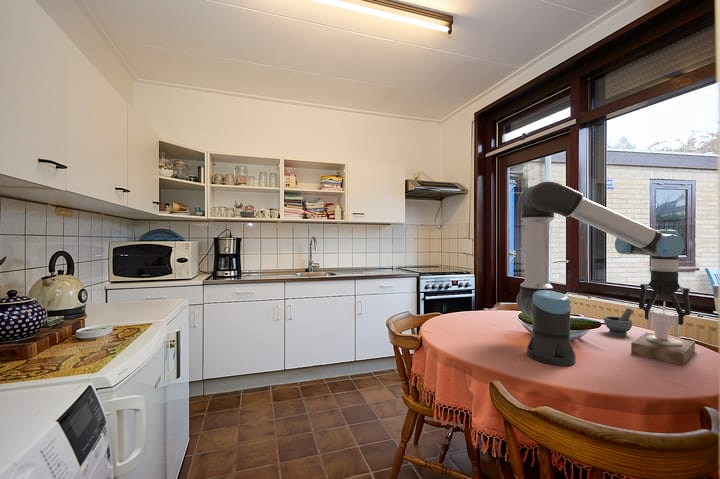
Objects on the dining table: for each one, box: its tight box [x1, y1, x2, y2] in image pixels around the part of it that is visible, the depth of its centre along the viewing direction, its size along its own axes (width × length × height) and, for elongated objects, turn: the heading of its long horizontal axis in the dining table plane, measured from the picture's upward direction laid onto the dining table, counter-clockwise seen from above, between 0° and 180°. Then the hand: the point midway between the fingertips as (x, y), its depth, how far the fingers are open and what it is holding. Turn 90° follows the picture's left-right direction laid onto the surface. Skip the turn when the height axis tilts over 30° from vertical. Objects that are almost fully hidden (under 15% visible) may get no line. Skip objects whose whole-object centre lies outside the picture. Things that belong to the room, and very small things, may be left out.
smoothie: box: [652, 300, 677, 340], centre depth 120 cm, size 6×6×14 cm
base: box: [630, 332, 696, 366], centre depth 120 cm, size 14×22×5 cm, turn 126°
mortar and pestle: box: [603, 307, 634, 337], centre depth 142 cm, size 11×9×12 cm
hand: (663, 330), depth 120 cm, fingers open, 7 cm apart
